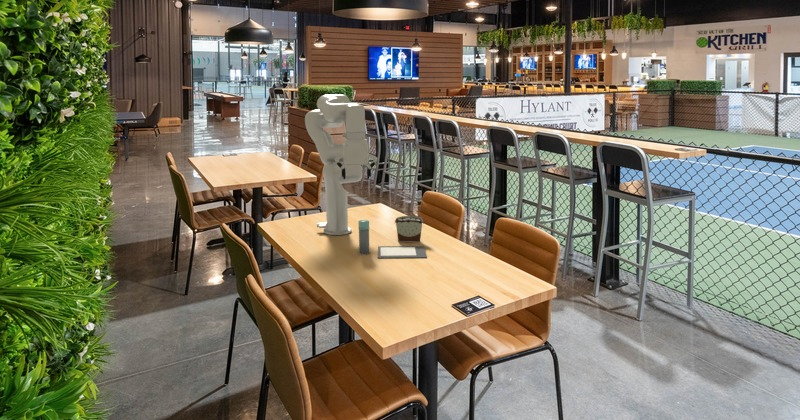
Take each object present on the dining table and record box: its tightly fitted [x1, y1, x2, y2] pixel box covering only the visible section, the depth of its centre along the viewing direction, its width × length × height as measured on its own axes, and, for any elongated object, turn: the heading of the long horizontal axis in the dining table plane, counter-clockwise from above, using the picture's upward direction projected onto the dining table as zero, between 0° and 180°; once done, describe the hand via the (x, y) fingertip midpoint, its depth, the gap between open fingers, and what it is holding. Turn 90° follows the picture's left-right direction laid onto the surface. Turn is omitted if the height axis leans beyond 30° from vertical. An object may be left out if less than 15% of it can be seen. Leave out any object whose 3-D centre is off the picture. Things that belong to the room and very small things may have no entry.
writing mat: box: [377, 245, 428, 259], centre depth 232 cm, size 19×15×1 cm
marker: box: [358, 219, 370, 255], centre depth 230 cm, size 4×4×13 cm
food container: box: [394, 215, 424, 243], centre depth 249 cm, size 12×6×10 cm, turn 84°
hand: (356, 178), depth 235 cm, fingers open, 9 cm apart
